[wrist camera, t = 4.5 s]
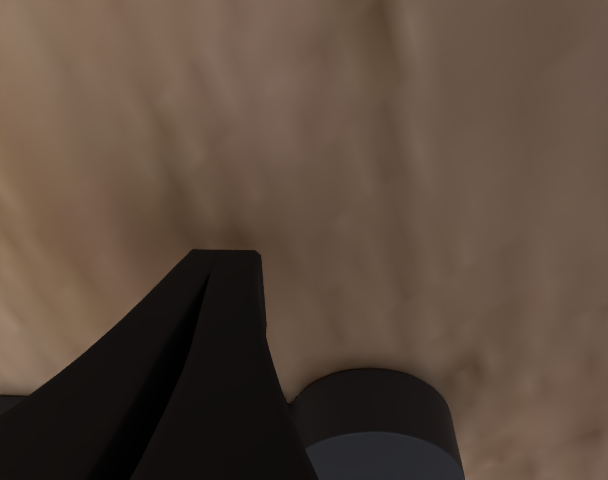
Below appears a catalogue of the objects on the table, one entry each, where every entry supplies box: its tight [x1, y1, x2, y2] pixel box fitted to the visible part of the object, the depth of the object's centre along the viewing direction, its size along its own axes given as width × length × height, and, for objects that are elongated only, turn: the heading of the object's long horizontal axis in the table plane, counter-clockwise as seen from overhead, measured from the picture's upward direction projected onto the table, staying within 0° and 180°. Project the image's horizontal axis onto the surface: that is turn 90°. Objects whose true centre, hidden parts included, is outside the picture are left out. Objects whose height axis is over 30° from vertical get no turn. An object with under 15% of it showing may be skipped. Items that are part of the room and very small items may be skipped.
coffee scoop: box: [0, 369, 465, 480], centre depth 14 cm, size 15×5×2 cm, turn 91°
